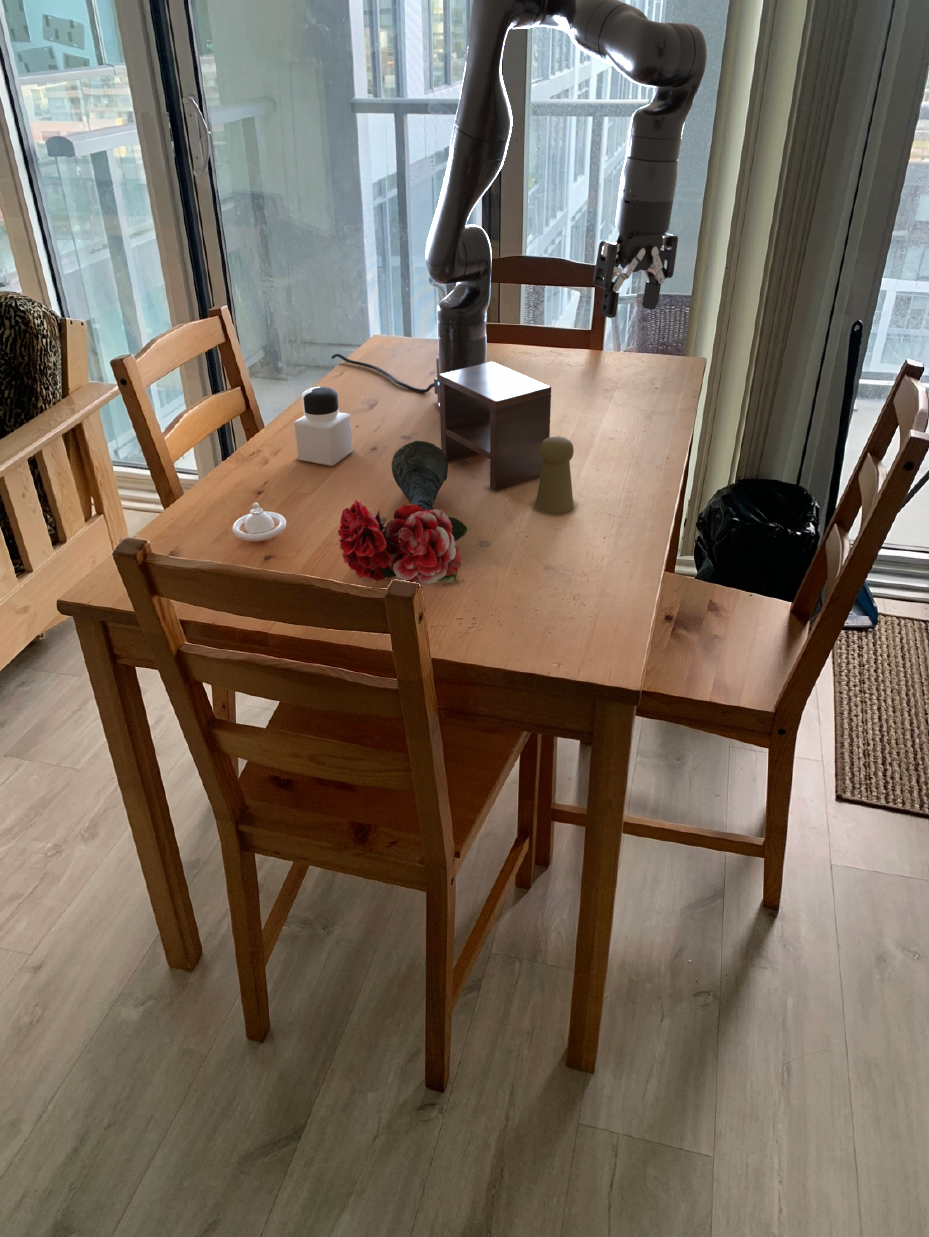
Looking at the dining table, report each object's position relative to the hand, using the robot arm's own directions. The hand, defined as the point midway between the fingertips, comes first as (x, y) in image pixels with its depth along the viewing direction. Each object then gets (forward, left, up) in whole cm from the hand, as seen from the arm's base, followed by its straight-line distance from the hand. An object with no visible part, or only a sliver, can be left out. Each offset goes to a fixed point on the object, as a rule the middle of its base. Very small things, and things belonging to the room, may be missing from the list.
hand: (628, 312), depth 138 cm
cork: (0, -13, -28) cm, 31 cm away
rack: (-18, -12, -28) cm, 35 cm away
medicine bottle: (-39, -33, -28) cm, 58 cm away
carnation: (-3, -38, -28) cm, 48 cm away
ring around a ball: (-18, -55, -28) cm, 64 cm away
